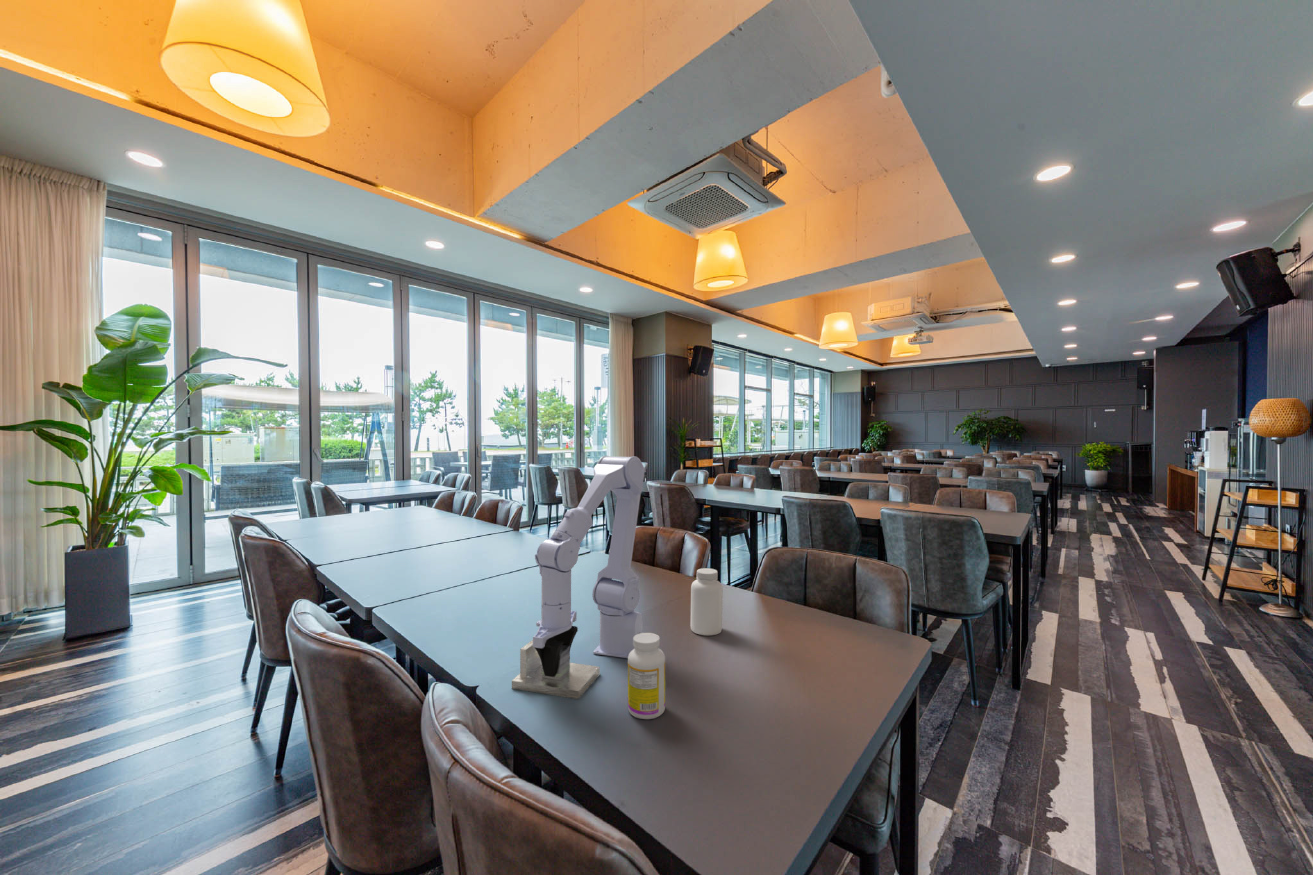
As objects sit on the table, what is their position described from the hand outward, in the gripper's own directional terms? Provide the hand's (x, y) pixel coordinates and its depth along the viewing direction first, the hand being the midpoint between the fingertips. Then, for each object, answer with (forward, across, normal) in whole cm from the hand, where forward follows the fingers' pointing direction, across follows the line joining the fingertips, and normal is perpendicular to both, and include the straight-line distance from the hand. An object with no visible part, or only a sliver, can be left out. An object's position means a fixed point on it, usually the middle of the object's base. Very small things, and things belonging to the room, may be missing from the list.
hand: (555, 669), depth 95 cm
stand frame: (+2, 0, 0) cm, 2 cm away
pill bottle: (+3, -34, +24) cm, 42 cm away
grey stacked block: (+1, 0, 0) cm, 1 cm away
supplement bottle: (+3, +4, +20) cm, 21 cm away
